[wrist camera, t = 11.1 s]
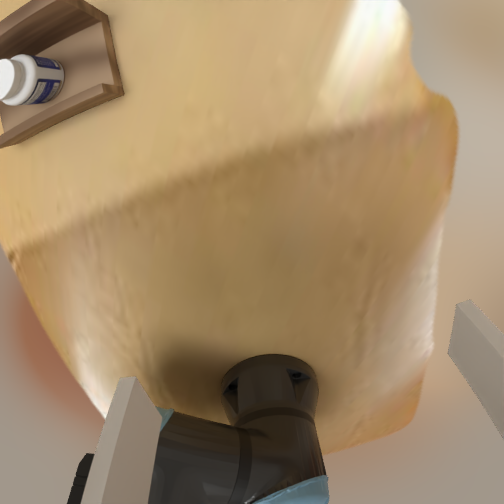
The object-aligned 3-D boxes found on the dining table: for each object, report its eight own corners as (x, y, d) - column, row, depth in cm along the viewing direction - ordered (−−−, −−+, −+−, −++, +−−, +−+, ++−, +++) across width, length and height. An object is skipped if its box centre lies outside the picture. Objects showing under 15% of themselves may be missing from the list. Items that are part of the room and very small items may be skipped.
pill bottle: (27, 68, 26) (-20, 64, 17) (63, 52, 26) (18, 42, 17) (31, 109, 28) (-18, 114, 20) (67, 96, 28) (21, 96, 20)
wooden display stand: (124, 94, 31) (74, 89, 20) (18, 143, 31) (-44, 162, 20) (107, 15, 26) (57, -16, 15) (4, 72, 27) (-58, 71, 16)
